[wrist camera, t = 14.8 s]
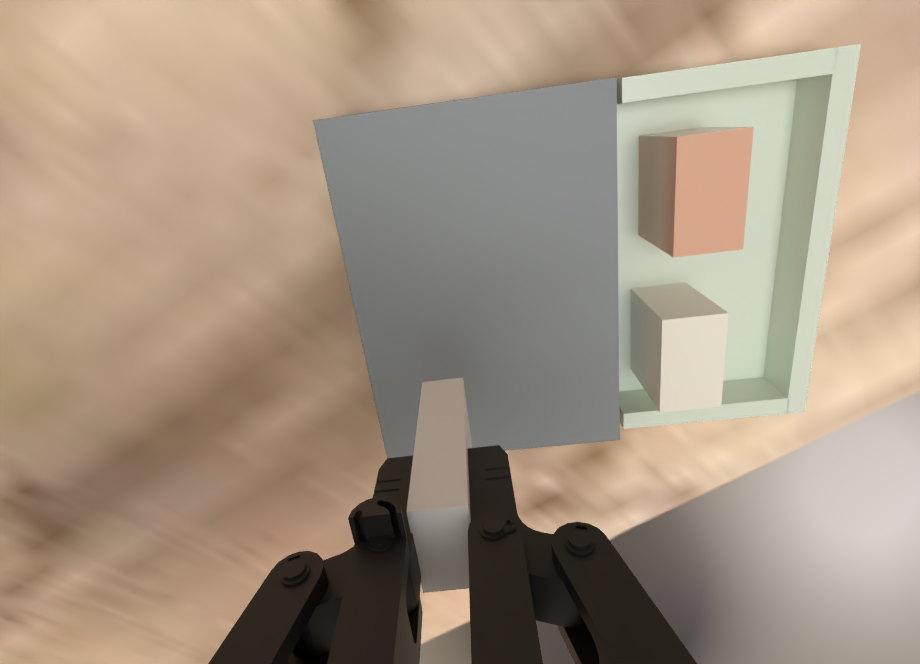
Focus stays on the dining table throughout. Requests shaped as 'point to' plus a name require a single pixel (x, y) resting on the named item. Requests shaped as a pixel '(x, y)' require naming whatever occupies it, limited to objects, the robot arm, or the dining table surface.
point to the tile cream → (678, 346)
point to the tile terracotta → (694, 189)
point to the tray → (767, 220)
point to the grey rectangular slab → (486, 259)
